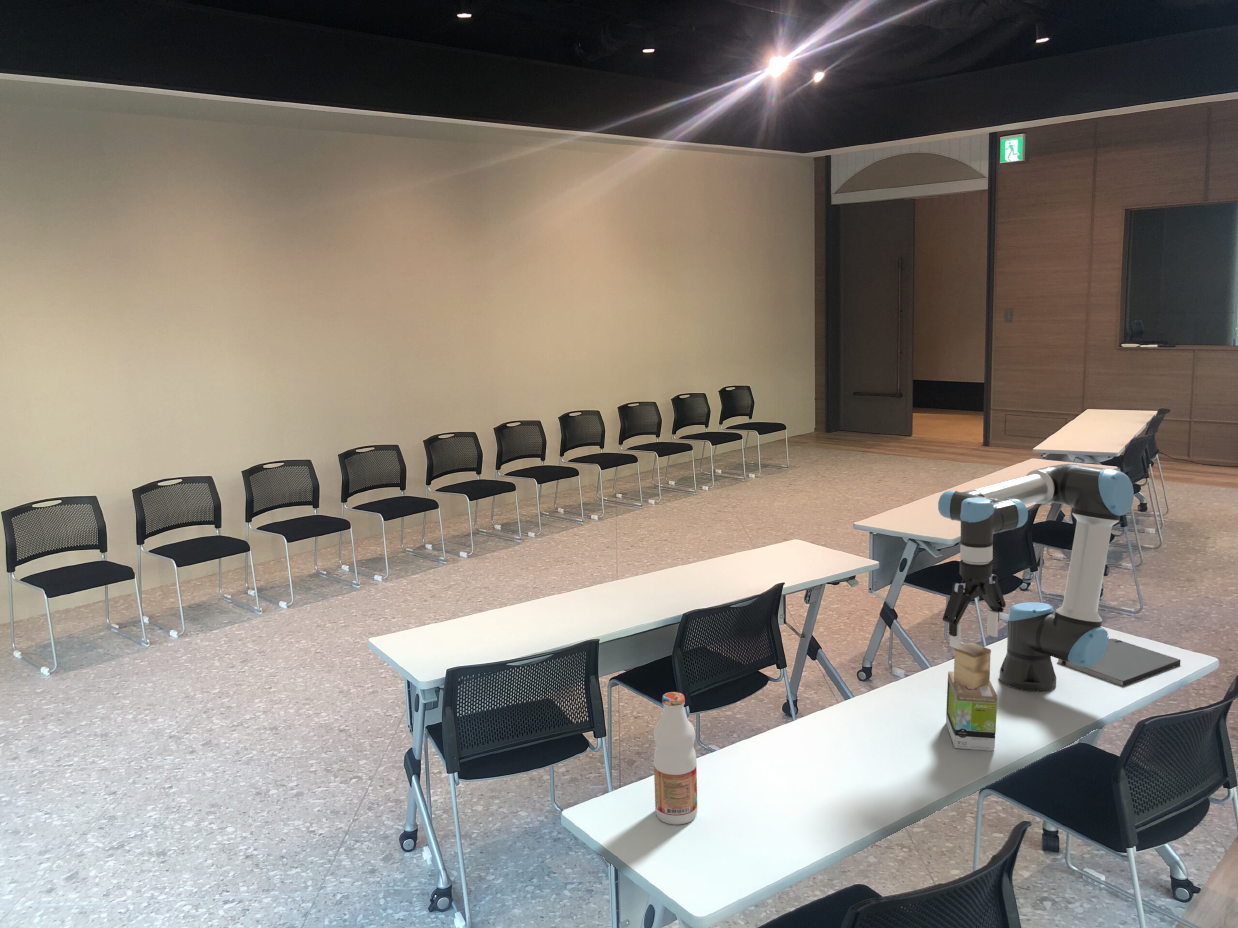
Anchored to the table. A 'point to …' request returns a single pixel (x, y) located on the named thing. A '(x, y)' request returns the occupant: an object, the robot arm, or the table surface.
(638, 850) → the table surface
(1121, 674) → the notebook
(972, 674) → the oak block
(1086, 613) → the robot arm
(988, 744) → the tea box
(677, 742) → the fruit juice
